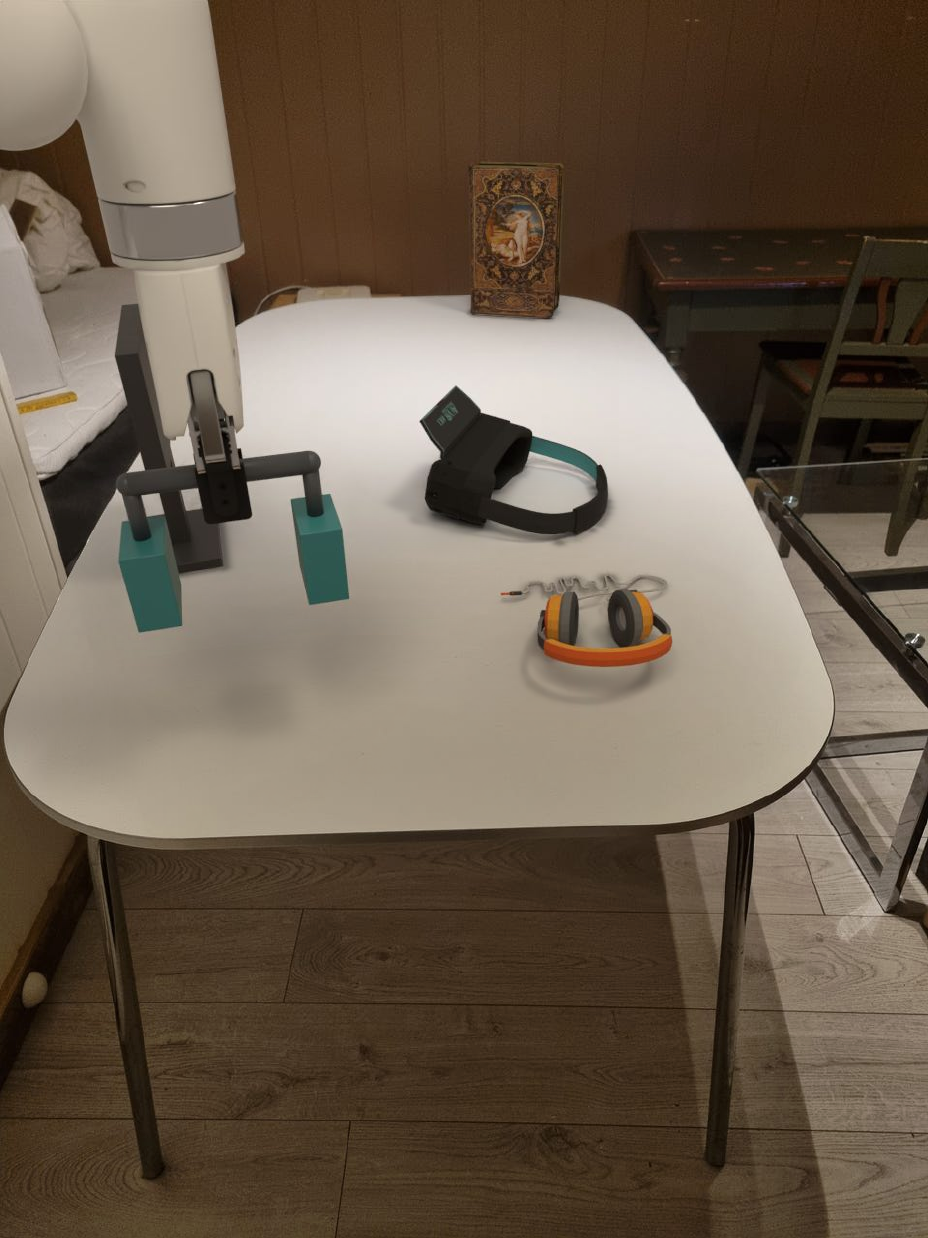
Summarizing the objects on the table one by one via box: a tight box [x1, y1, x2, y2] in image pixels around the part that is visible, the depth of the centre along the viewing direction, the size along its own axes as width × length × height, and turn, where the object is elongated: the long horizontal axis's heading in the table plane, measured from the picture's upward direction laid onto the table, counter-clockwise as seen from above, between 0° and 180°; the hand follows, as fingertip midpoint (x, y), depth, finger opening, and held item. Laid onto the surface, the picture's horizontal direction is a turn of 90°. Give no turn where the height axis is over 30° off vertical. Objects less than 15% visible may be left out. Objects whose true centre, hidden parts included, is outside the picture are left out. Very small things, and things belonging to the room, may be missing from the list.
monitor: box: [114, 303, 224, 574], centre depth 88 cm, size 8×16×24 cm, turn 16°
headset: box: [115, 450, 350, 634], centre depth 61 cm, size 15×6×11 cm, turn 106°
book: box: [467, 161, 565, 319], centre depth 155 cm, size 16×6×25 cm, turn 74°
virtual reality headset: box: [418, 385, 609, 536], centre depth 99 cm, size 19×22×10 cm
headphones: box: [500, 573, 673, 668], centre depth 79 cm, size 17×5×20 cm
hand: (227, 510), depth 60 cm, fingers closed on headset
